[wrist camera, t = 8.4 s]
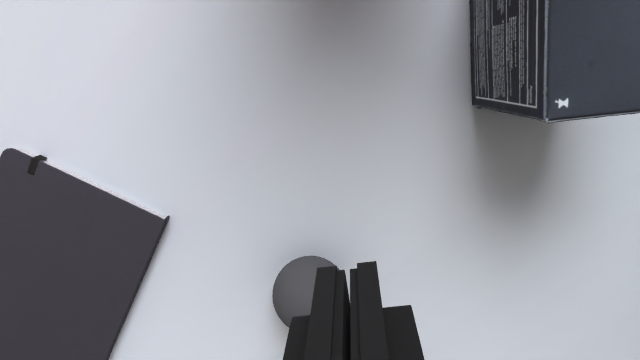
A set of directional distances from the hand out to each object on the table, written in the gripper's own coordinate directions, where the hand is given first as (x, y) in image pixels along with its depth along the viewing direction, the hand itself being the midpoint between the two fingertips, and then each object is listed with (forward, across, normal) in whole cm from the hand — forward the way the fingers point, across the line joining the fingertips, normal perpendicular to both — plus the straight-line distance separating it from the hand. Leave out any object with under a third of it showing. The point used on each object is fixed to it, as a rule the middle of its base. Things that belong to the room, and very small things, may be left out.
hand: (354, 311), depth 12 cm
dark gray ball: (+17, +4, +10) cm, 20 cm away
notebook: (+20, +26, +8) cm, 34 cm away
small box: (+21, -12, -7) cm, 25 cm away
